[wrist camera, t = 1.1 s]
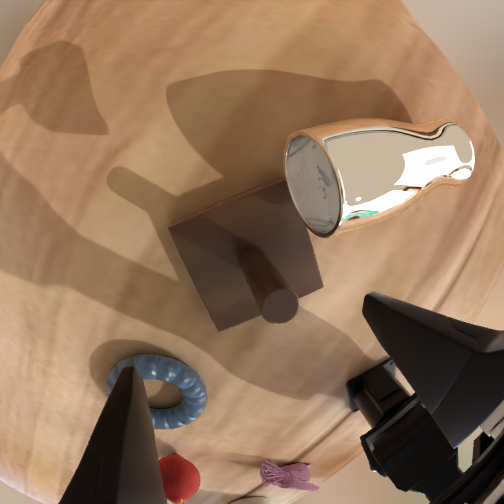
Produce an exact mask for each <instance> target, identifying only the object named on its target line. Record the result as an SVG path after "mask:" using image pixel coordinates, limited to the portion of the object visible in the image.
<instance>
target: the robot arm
mask: <svg viewBox="0 0 504 504" xmlns="http://www.w3.org/2000/svg"><path fill="white" fill-rule="evenodd" d="M362 313H363V316H364V318H365V319H366V321H367V323H368V324H369V326H370V328H371V329H372V331H373V333H374V334H375V336H376V338H377V339H378V341H379V342H380V344H381V345H382V347H383V348H384V350H385V351H386V352H387V354H388V355H389V356H390V359H388V360H386V361H385V362H383V363H381V364H380V365H378V366H376V367H374V368H373V369H371V370H369V371H367V372H366V373H364V374H362V375H360V376H358V377H356V378H355V379H353V380H351V381H349V382H348V383H347V384H346V387H347V392H348V397H349V402H350V407H351V410H352V412H356V411H358V410H360V411H361V412H362V414H363V415H364V417H365V418H366V420H367V421H368V423H369V424H370V426H371V427H372V429H371V430H370V431H368V432H367V433H366V434H363V435H362V436H360V439H361V444H362V447H363V449H364V451H365V453H366V455H367V458H368V460H369V465H370V469H371V470H372V471H375V472H378V473H379V474H380V475H382V476H383V477H387V476H388V477H389V478H390V480H391V481H392V482H393V483H394V485H395V486H396V488H397V489H399V490H402V491H405V492H407V491H408V490H409V491H413V492H417V493H421V494H424V495H425V496H426V497H427V499H428V500H429V501H430V503H429V504H504V330H503V331H498V330H493V329H489V328H485V327H481V326H477V325H473V324H470V323H466V322H463V321H460V320H456V319H453V318H451V317H447V316H445V315H442V314H439V313H436V312H433V311H430V310H427V309H424V308H421V307H418V306H415V305H412V304H409V303H406V302H403V301H400V300H397V299H395V298H392V297H389V296H386V295H383V294H380V293H377V292H371V293H369V294H367V295H365V297H364V303H363V308H362ZM395 364H396V366H397V367H398V369H399V370H400V371H401V373H402V374H403V376H404V377H405V378H406V380H407V381H408V382H409V384H410V385H411V387H412V388H413V390H414V391H415V393H414V394H413V395H412V396H411V394H410V393H409V392H408V391H407V390H406V389H405V388H404V386H403V385H402V384H401V383H400V382H399V381H398V380H397V378H396V377H395ZM479 426H480V427H481V428H482V430H483V431H482V433H481V434H480V435H479V436H478V437H477V438H476V439H475V440H474V446H473V459H472V465H471V466H470V467H469V468H468V469H467V471H465V472H463V471H462V470H461V468H460V467H459V466H458V445H460V444H461V443H462V442H463V441H464V440H465V439H466V438H467V437H468V436H469V435H470V434H472V433H473V432H474V431H475V430H476V429H477V428H478V427H479ZM58 504H167V500H166V496H165V491H164V487H163V482H162V477H161V472H160V466H159V460H158V455H157V448H156V442H155V435H154V427H153V421H152V417H151V413H150V409H149V404H148V400H147V396H146V391H145V386H144V382H143V380H142V378H141V376H140V374H139V373H138V371H137V369H136V368H135V366H133V365H131V366H126V367H123V368H122V369H121V372H120V374H119V376H118V378H117V380H116V382H115V384H114V386H113V388H112V390H111V393H110V395H109V397H108V399H107V401H106V403H105V406H104V408H103V410H102V412H101V415H100V417H99V419H98V421H97V424H96V426H95V428H94V431H93V433H92V435H91V438H90V440H89V442H88V445H87V447H86V449H85V452H84V454H83V456H82V459H81V461H80V463H79V466H78V468H77V470H76V471H75V474H74V476H73V477H72V479H71V481H70V483H69V485H68V487H67V489H66V491H65V493H64V495H63V496H62V498H61V500H60V502H59V503H58Z"/></svg>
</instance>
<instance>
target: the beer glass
mask: <svg viewBox="0 0 504 504" xmlns="http://www.w3.org/2000/svg"><path fill="white" fill-rule="evenodd" d="M474 163H475V155H474V149H473V145H472V143H471V140H470V138H469V136H468V135H467V133H466V132H465V131H464V130H463V128H462V127H460V126H459V125H458V124H457V123H455V122H453V121H451V120H448V119H437V120H433V121H431V122H428V123H426V124H422V125H420V124H412V123H407V122H402V121H396V120H390V119H382V118H355V119H347V120H341V121H335V122H331V123H326V124H322V125H318V126H314V127H311V128H307V129H302V130H296V131H294V132H293V133H292V134H291V135H290V136H289V137H288V139H287V141H286V144H285V148H284V155H283V166H284V175H285V180H286V185H287V189H288V192H289V195H290V198H291V201H292V203H293V205H294V208H295V210H296V212H297V213H298V215H299V217H300V219H301V220H302V222H303V223H304V224H305V226H306V227H307V228H308V229H309V230H310V231H311V232H312V233H314V234H315V235H317V236H319V237H321V238H330V237H332V236H334V235H338V234H341V233H345V232H349V231H353V230H357V229H360V228H364V227H367V226H370V225H373V224H376V223H379V222H382V221H385V220H387V219H389V218H391V217H394V216H396V215H398V214H400V213H401V212H403V211H405V210H406V209H408V208H410V207H411V206H413V205H414V204H416V203H417V202H418V201H420V200H421V199H422V198H424V197H425V196H426V195H428V194H429V193H430V192H432V191H433V190H435V189H437V188H439V187H455V186H459V185H462V184H463V183H465V182H466V181H467V180H468V179H469V177H470V176H471V174H472V172H473V169H474Z"/></svg>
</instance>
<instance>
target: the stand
mask: <svg viewBox="0 0 504 504" xmlns="http://www.w3.org/2000/svg"><path fill="white" fill-rule="evenodd" d="M168 229H169V232H170V234H171V236H172V238H173V240H174V243H175V245H176V247H177V249H178V251H179V253H180V255H181V258H182V260H183V262H184V264H185V266H186V268H187V270H188V272H189V274H190V276H191V278H192V280H193V282H194V284H195V286H196V288H197V290H198V292H199V294H200V296H201V298H202V300H203V302H204V304H205V306H206V308H207V310H208V312H209V314H210V316H211V318H212V320H213V322H214V323H215V325H216V327H217V329H218V331H219V332H221V331H223V330H226V329H228V328H231V327H233V326H236V325H238V324H241V323H243V322H246V321H248V320H250V319H253V318H255V317H258V316H260V315H262V316H263V318H264V319H265V320H266V321H268V322H270V323H273V324H282V323H285V322H288V321H289V320H291V319H292V318H293V317H294V316H295V315H296V314H297V312H298V309H299V305H300V302H299V298H301V297H303V296H305V295H308V294H310V293H312V292H314V291H316V290H318V289H321V288H323V287H324V286H323V283H322V279H321V275H320V272H319V268H318V265H317V261H316V258H315V254H314V251H313V247H312V244H311V240H310V237H309V234H308V230H307V227H306V226H305V224H304V223H303V222H302V220H301V219H300V217H299V215H298V213H297V212H296V210H295V208H294V205H293V203H292V201H291V198H290V195H289V192H288V189H287V185H286V180H285V177H284V178H281V179H278V180H276V181H273V182H270V183H268V184H265V185H262V186H260V187H257V188H254V189H252V190H249V191H247V192H244V193H242V194H239V195H237V196H234V197H232V198H229V199H227V200H224V201H222V202H219V203H217V204H214V205H212V206H210V207H207V208H205V209H202V210H200V211H198V212H195V213H193V214H191V215H188V216H186V217H184V218H181V219H179V220H177V221H174V222H172V223H170V225H169V227H168Z"/></svg>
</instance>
